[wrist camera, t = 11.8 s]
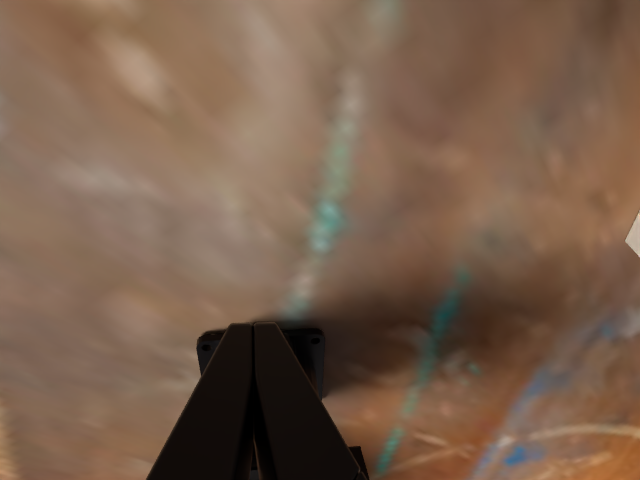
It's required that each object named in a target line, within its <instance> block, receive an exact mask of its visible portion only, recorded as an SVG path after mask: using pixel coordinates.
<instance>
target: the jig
mask: <svg viewBox="0 0 640 480" xmlns="http://www.w3.org/2000/svg"><path fill="white" fill-rule="evenodd" d="M625 242H626V243H627V244H628V245H629V246H630V247H631V248H632V249H633V250H634V251H635V252H636V254H637V255H638V256H639V257H640V211H639V213H638V215H637V217H636V220H635V222H634V224H633V226H632V228H631V230H630V232H629V234H628V236H627V238H626V240H625Z"/></svg>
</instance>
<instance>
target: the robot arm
mask: <svg viewBox="0 0 640 480" xmlns="http://www.w3.org/2000/svg"><path fill="white" fill-rule="evenodd" d="M205 344H208V345H205ZM196 349H197V355H198V361H199V366H200V372H201V378H200V380H199V382H198V384H197V385H196V387H195V389H194V391H193V393H192V395H191V397H190V398H189V400H188V402H187V404H186V406H185V408H184V410H183V411H182V413H181V415H180V417H179V419H178V421H177V423H176V424H175V426H174V428H173V430H172V432H171V434H170V436H169V437H168V439H167V441H166V443H165V445H164V447H163V449H162V450H161V452H160V454H159V456H158V458H157V460H156V462H155V463H154V465H153V467H152V469H151V471H150V473H149V475H148V476H147V478H146V480H369V476H368V473H367V469H366V465H365V462H364V458H363V455H362V451H361V447H360V446H354V447H348V446H347V444H346V443H345V441H344V439H343V438H342V436H341V434H340V432H339V431H338V429H337V427H336V425H335V424H334V422H333V420H332V419H331V417H330V415H329V413H328V412H327V410H326V408H325V406H324V405H323V403H322V384H323V367H324V349H325V337H324V332H323V331H322V330H320V329H299V330H282V331H281V330H280V329H279V327H278V325H277V324H276V323H274V322H257V323H255V324H254V325H252V324H251V323H232V324H230V325H229V326H228V328H227V330H226V331H225V333H224V334H215V335H204V336H201V337H199V338H198V340H197V348H196Z"/></svg>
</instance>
